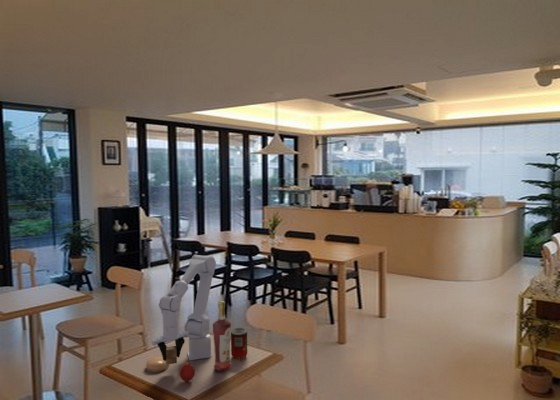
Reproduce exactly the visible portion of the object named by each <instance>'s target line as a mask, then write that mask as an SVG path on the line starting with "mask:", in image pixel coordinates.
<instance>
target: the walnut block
mask: <svg viewBox="0 0 560 400" xmlns="http://www.w3.org/2000/svg"><path fill="white" fill-rule="evenodd" d="M166 364H167V365H168V364H169V365H173V364H178V357H177V349H176V345H171V346H167V348H166Z"/></svg>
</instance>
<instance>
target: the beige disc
mask: <svg viewBox="0 0 560 400" xmlns="http://www.w3.org/2000/svg"><path fill="white" fill-rule="evenodd" d="M145 365H146V366H145V367H146V371H147V372H150V373H160V372H163V371H165V370H167V369H168V368H169V367H170V364H168V365H167V364H166V361H164V360H163V357H162V355H159V356H153V357H151V358H149V359H147V360H146V363H145Z"/></svg>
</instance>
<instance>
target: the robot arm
mask: <svg viewBox="0 0 560 400" xmlns="http://www.w3.org/2000/svg"><path fill="white" fill-rule="evenodd" d="M188 263H189V264H188V265H189V266H188V268H187V269H186V270H185V272H184V274H183V276H182V278H181V279H180V280H176V281H175V283H174V284H173V286H172V287H171V289H169V291H168V293H167V294H165V295H163V296H161V298H160V299H159V303H158V307H159V309H160V313H161V314H162V335H161V336H158V337H156V338H152V339H151V344H152V346H156V345H157V347H158V348H159V351H160V353H161V356H162V357H163V360H164V361H166V348H167V347H168V346H167V345H166V343H168V342H172V341H174V343H175V346H176V349H177V358H180V355H181V351H182V349H183V346H184V344H185V341H186V340H185V338H188V351H187V353H186V354H187V357H188V360H189V361H195V360H200V359H201V360H202V359H208V358H212V344H211V343H212V341H211V335H210V333H209V332H210V318H209V317H208V316H207V314H206V311H207V306H208V303H209V298H210V291H211V286H212V283H213V282H212V281H213V276H214V275H215V270H216V266H217V262H216V259H215V257H214V256H212V255H210V256H209V255H198V254H193V256H192V257H191V259H189V262H188ZM197 274H198V276H199V283H198V286H197V287H198V288H197V293H196V298H195V302H194V306H193V312H192V313H190V314H189V315H188V316H187V320H186V321H185V323H184V327H183V328H184V331H178V330H179V326H178V325H179V324H178V310H179V309H180V307H181V302H182V299H183V297H184V296H185V294H186V292H187V291H188V290H189V286H188V285H189V284H190V283H191V281H192V280H193V279H194V278H195V276H196V275H197Z"/></svg>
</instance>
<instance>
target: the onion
mask: <svg viewBox="0 0 560 400" xmlns="http://www.w3.org/2000/svg"><path fill="white" fill-rule="evenodd" d="M178 375H179V378H180V379H181V380H183V381H184V382H185V383H189V382H190V381H192V380H193V379H194V377H195V375H196V370H195V367H194V365H192V364H191V363H189V362H188V361H186V362H185V363H184V364H183V365H182V366H181V367H180V370H179V374H178Z"/></svg>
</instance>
